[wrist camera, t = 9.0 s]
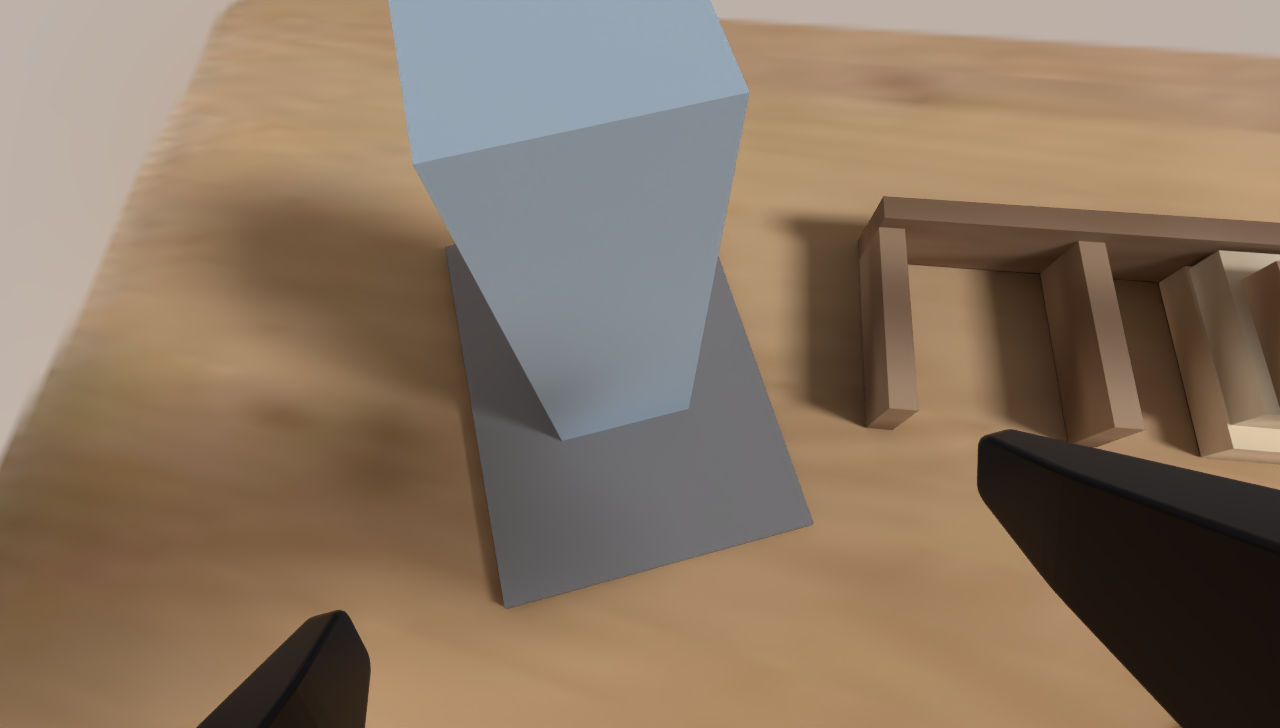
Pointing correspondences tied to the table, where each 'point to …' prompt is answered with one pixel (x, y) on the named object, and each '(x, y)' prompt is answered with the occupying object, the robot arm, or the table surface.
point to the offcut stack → (1229, 351)
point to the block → (580, 183)
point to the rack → (1072, 285)
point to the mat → (623, 463)
